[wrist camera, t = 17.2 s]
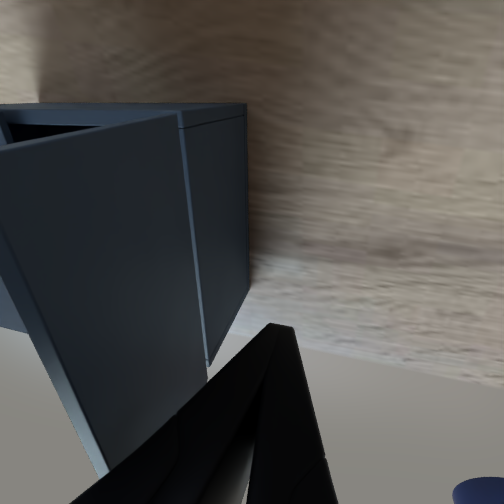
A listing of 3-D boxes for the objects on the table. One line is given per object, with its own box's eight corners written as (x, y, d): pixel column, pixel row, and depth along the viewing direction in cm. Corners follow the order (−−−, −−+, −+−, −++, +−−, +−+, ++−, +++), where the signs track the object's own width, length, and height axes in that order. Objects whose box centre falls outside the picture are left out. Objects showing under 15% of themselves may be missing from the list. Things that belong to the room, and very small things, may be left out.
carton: (247, 103, 14) (169, 111, 8) (249, 290, 19) (203, 380, 13) (37, 102, 17) (-130, 108, 11) (87, 263, 23) (-8, 325, 17)
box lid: (166, 112, 8) (177, 113, 8) (201, 377, 13) (207, 378, 13) (-61, 156, 3) (-30, 157, 3) (148, 580, 8) (159, 581, 8)
